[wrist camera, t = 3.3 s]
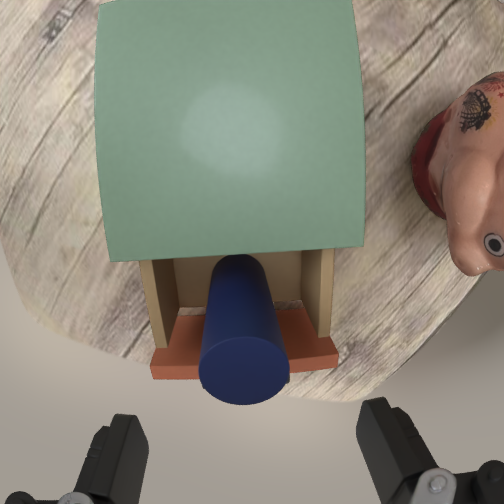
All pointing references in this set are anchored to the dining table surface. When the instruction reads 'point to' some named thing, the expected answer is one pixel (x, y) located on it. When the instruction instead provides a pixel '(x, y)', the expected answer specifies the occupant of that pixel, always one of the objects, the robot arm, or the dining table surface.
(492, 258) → the decorative planter
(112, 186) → the cabinet
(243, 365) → the blue cylinder
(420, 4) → the dining table surface
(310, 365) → the drawer
